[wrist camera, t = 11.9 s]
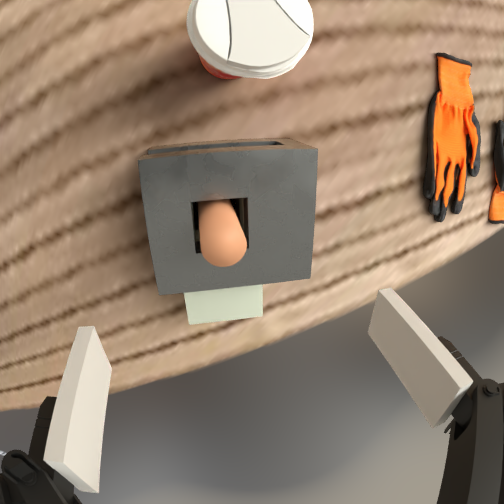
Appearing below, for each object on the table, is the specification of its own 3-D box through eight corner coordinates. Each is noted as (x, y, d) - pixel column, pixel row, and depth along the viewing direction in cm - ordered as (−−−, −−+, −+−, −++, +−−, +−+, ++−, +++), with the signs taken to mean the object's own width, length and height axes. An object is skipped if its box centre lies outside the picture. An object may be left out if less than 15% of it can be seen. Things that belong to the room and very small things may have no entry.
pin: (196, 184, 31) (198, 227, 21) (227, 181, 32) (245, 222, 21) (198, 214, 33) (203, 269, 22) (228, 210, 33) (247, 264, 22)
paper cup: (177, 35, 24) (167, -16, 12) (250, 10, 24) (292, -47, 11) (206, 102, 28) (217, 97, 15) (278, 76, 27) (339, 58, 15)
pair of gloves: (407, 219, 39) (422, 229, 36) (426, 44, 28) (443, 43, 25) (506, 221, 43) (518, 228, 40) (525, 97, 33) (538, 100, 30)
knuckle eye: (188, 297, 37) (189, 324, 32) (172, 164, 30) (168, 174, 25) (253, 290, 38) (262, 316, 34) (251, 157, 31) (261, 167, 26)
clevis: (164, 254, 34) (159, 295, 27) (151, 147, 28) (137, 160, 21) (286, 242, 36) (310, 278, 29) (288, 138, 31) (317, 149, 24)
